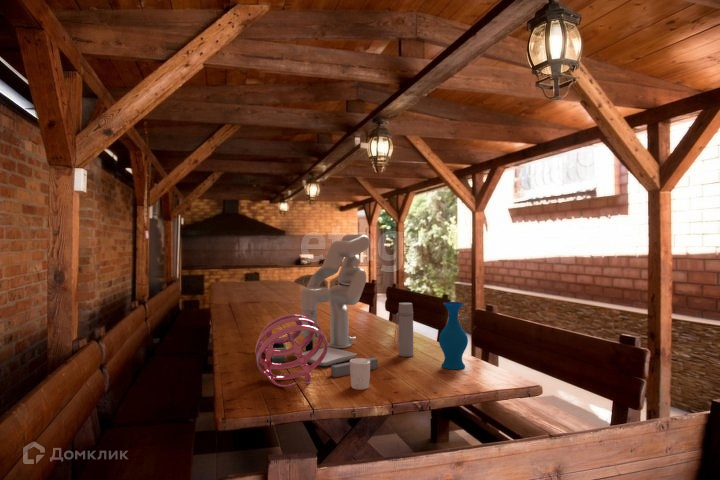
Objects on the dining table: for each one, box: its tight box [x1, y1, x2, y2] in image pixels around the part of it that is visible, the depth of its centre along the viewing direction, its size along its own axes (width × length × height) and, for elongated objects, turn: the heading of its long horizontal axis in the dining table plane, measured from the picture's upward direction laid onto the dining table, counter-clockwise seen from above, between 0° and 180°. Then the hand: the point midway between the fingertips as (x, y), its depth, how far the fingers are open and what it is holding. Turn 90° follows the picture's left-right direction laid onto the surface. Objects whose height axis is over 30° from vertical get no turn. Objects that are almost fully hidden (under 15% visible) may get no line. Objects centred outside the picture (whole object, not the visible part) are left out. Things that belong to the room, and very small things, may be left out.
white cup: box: [349, 357, 371, 391], centre depth 179 cm, size 8×8×10 cm
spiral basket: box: [254, 313, 329, 389], centre depth 183 cm, size 28×28×27 cm
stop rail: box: [330, 357, 379, 378], centre depth 199 cm, size 22×3×4 cm, turn 126°
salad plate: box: [294, 347, 357, 367], centre depth 218 cm, size 21×21×3 cm
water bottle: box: [394, 302, 414, 358], centre depth 226 cm, size 9×8×25 cm
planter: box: [268, 336, 288, 364], centre depth 225 cm, size 28×7×7 cm, turn 15°
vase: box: [438, 301, 469, 371], centre depth 206 cm, size 12×13×28 cm
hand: (309, 350), depth 230 cm, fingers closed
